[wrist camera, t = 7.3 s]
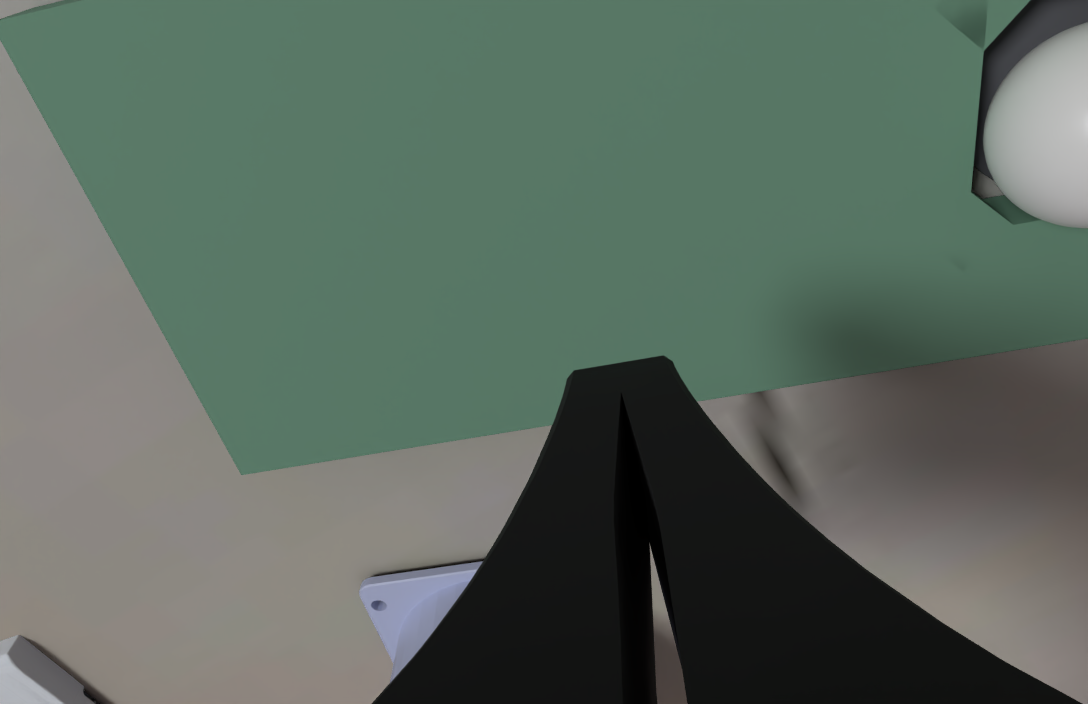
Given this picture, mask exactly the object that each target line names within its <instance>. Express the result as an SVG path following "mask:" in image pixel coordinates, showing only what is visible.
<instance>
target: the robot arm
mask: <svg viewBox="0 0 1088 704" xmlns="http://www.w3.org/2000/svg"><path fill="white" fill-rule="evenodd" d="M649 542H650V545H649ZM650 546H651V550H652V554H653V558H654V561H655V565H656V569H657V573H658V577H659V581H660V585H661V589H662V593H663V596H664V600H665V604H666V608H667V612H668V616H669V620H670V624H671V627H672V631H673V635H674V639H675V643H676V647H677V651H678V655H679V658H680V662H681V666H682V670H683V677H684V683H685V690H686V696H687V702H688V704H1082V703H1080V702H1078V701H1076V700H1075V699H1073V698H1071V697H1069V696H1067V695H1065V694H1064V693H1062V692H1060V691H1058V690H1056V689H1054V688H1052V687H1051V686H1049V685H1047V684H1045V683H1043V682H1041V681H1040V680H1038V679H1036V678H1034V677H1032V676H1030V675H1028V674H1027V673H1025V672H1023V671H1021V670H1019V669H1017V668H1016V667H1014V666H1012V665H1010V664H1008V663H1006V662H1005V661H1003V660H1001V659H1000V658H998V657H996V656H995V655H993V654H992V653H990V652H988V651H987V650H985V649H984V648H982V647H980V646H979V645H977V644H976V643H974V642H972V641H971V640H969V639H968V638H966V637H964V636H963V635H961V634H960V633H958V632H956V631H955V630H953V629H951V628H950V627H948V626H947V625H945V624H943V623H942V622H941V621H939V620H938V619H936V618H935V617H933V616H932V615H930V614H929V613H928V612H926V611H925V610H923V609H922V608H920V607H919V606H918V605H916V604H915V603H913V602H912V601H910V600H909V599H908V598H906V597H905V596H903V595H902V594H900V593H899V592H898V591H896V590H895V589H893V588H892V587H890V586H889V585H888V584H886V583H885V582H883V581H882V580H880V579H879V578H878V577H876V576H875V575H873V574H872V573H870V572H869V571H868V570H866V569H865V568H864V567H862V566H861V565H860V564H859V563H857V562H856V561H855V560H854V559H852V558H851V557H850V556H849V555H847V554H846V553H845V552H844V551H842V550H841V549H840V548H839V547H837V546H836V545H835V544H833V543H832V542H831V541H830V540H829V539H827V538H826V537H825V536H824V535H823V534H822V533H820V532H819V531H818V530H817V529H816V528H815V527H813V526H812V525H811V524H810V523H809V522H808V521H806V520H805V519H804V518H803V517H802V516H801V515H800V514H799V513H797V512H796V511H795V510H794V509H793V508H792V507H791V506H790V505H789V504H788V503H787V502H786V501H785V500H784V499H782V498H781V497H780V496H779V495H778V494H777V493H776V492H775V491H774V490H773V489H772V488H771V487H770V486H769V485H768V484H767V483H766V482H765V481H764V480H763V479H762V478H761V477H760V476H759V475H758V474H757V473H756V471H755V470H754V469H753V468H752V467H751V466H750V465H749V464H748V463H747V462H746V461H745V460H744V459H743V458H742V456H741V455H740V454H739V453H738V452H737V451H736V450H735V449H734V447H733V446H732V445H731V444H730V443H729V441H728V440H727V439H726V438H725V437H724V436H723V434H722V433H721V432H720V431H719V430H718V428H717V427H716V426H715V425H714V424H713V422H712V421H711V420H710V419H709V417H708V416H707V415H706V413H705V412H704V411H703V409H702V408H701V407H700V405H699V404H698V403H697V401H696V400H695V398H694V397H693V396H692V394H691V393H690V391H689V390H688V388H687V387H686V385H685V383H684V382H683V380H682V379H681V377H680V375H679V373H678V371H677V370H676V368H675V365H674V363H673V361H671V360H670V359H668V358H667V357H665V356H664V355H662V356H656V357H650V358H644V359H638V360H632V361H627V362H621V363H615V364H609V365H603V366H597V367H591V368H585V369H579V370H574V371H573V372H572V373H571V374H570V376H569V377H568V378H567V381H566V385H565V389H564V392H563V396H562V399H561V402H560V405H559V408H558V411H557V414H556V417H555V419H554V422H553V425H552V427H551V430H550V433H549V435H548V438H547V440H546V442H545V444H544V447H543V449H542V451H541V453H540V456H539V458H538V460H537V463H536V465H535V467H534V469H533V472H532V474H531V476H530V478H529V480H528V482H527V484H526V486H525V488H524V490H523V492H522V494H521V496H520V497H519V499H518V501H517V503H516V505H515V507H514V509H513V511H512V513H511V515H510V516H509V518H508V520H507V522H506V524H505V526H504V528H503V529H502V531H501V533H500V534H499V536H498V538H497V539H496V541H495V543H494V545H493V546H492V548H491V549H490V551H489V553H488V554H487V556H486V558H485V559H484V561H481V562H474V563H467V564H460V565H453V566H446V567H439V568H432V569H425V570H418V571H411V572H404V573H397V574H390V575H383V576H376V577H370V578H367V579H365V580H364V581H363V582H362V584H361V587H360V591H359V595H360V598H361V600H362V602H363V604H364V606H365V608H366V610H367V612H368V614H369V616H370V618H371V620H372V622H373V624H374V626H375V628H376V630H377V632H378V634H379V636H380V638H381V640H382V642H383V644H384V646H385V648H386V650H387V652H388V654H389V656H390V658H391V660H392V662H393V670H392V675H391V680H390V684H389V685H388V686H387V687H386V688H385V689H384V690H383V692H382V693H381V694H380V695H379V696H378V697H377V698H376V700H375V701H374V702H373V703H372V704H657V696H656V676H655V654H654V632H653V609H652V587H651V565H650ZM378 600H379V601H378Z"/></svg>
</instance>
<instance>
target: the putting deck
mask: <svg viewBox="0 0 1088 704" xmlns="http://www.w3.org/2000/svg"><path fill="white" fill-rule="evenodd" d="M1086 22H1088V0H64V1H60V2H56V3H52V4H47V5H43V6H39V7H35V8H31V9H28V10H25V11H23V12H20V13H17V14H14V15H11V16H8V17H5V18H2V19H0V40H1V42H2V44H3V46H4V47H5V49H6V51H7V53H8V55H9V56H10V58H11V60H12V62H13V64H14V65H15V67H16V69H17V71H18V73H19V74H20V76H21V78H22V80H23V82H24V83H25V85H26V87H27V89H28V91H29V93H30V94H31V96H32V98H33V100H34V102H35V103H36V105H37V107H38V109H39V111H40V112H41V114H42V116H43V118H44V120H45V121H46V123H47V125H48V127H49V129H50V130H51V132H52V134H53V136H54V138H55V139H56V141H57V143H58V145H59V147H60V148H61V150H62V152H63V154H64V156H65V158H66V159H67V161H68V163H69V165H70V167H71V168H72V170H73V172H74V174H75V176H76V177H77V179H78V181H79V183H80V185H81V186H82V188H83V190H84V192H85V194H86V195H87V197H88V199H89V201H90V203H91V204H92V206H93V208H94V210H95V212H96V213H97V215H98V217H99V219H100V221H101V223H102V224H103V226H104V228H105V230H106V232H107V233H108V235H109V237H110V239H111V241H112V242H113V244H114V246H115V248H116V250H117V251H118V253H119V255H120V257H121V259H122V260H123V262H124V264H125V266H126V268H127V269H128V271H129V273H130V275H131V277H132V278H133V280H134V282H135V284H136V286H137V288H138V289H139V291H140V293H141V295H142V297H143V298H144V300H145V302H146V304H147V306H148V307H149V309H150V311H151V313H152V315H153V316H154V318H155V320H156V322H157V324H158V325H159V327H160V329H161V331H162V333H163V334H164V336H165V338H166V340H167V342H168V343H169V345H170V347H171V349H172V351H173V353H174V354H175V356H176V358H177V360H178V362H179V363H180V365H181V367H182V369H183V371H184V372H185V374H186V376H187V378H188V380H189V381H190V383H191V385H192V387H193V389H194V390H195V392H196V394H197V396H198V398H199V399H200V401H201V403H202V405H203V407H204V408H205V410H206V412H207V414H208V416H209V418H210V419H211V421H212V423H213V425H214V427H215V428H216V430H217V432H218V434H219V436H220V437H221V439H222V441H223V443H224V445H225V446H226V448H227V450H228V452H229V454H230V455H231V457H232V459H233V461H234V463H235V464H236V466H237V468H238V470H239V472H240V473H241V475H245V474H251V473H257V472H263V471H270V470H276V469H282V468H288V467H294V466H301V465H307V464H313V463H319V462H325V461H332V460H338V459H344V458H350V457H356V456H363V455H369V454H375V453H381V452H387V451H394V450H400V449H406V448H412V447H418V446H425V445H431V444H437V443H443V442H449V441H456V440H462V439H468V438H474V437H480V436H487V435H493V434H499V433H505V432H511V431H517V430H524V429H530V428H536V427H542V426H548V425H553V422H554V419H555V417H556V414H557V411H558V408H559V405H560V402H561V399H562V396H563V392H564V389H565V385H566V381H567V378H568V377H569V376H570V374H571V373H572V372H573V371H574V370H579V369H585V368H591V367H597V366H603V365H609V364H615V363H621V362H627V361H632V360H638V359H644V358H650V357H656V356H662V355H664V356H665V357H667V358H668V359H670V360H671V361H673V363H674V365H675V368H676V370H677V371H678V373H679V375H680V377H681V379H682V380H683V382H684V383H685V385H686V387H687V388H688V390H689V391H690V393H691V394H692V396H693V397H694V398H695V400H696V401H703V400H710V399H716V398H722V397H728V396H734V395H741V394H747V393H753V392H759V391H765V390H772V389H778V388H784V387H790V386H796V385H803V384H809V383H815V382H821V381H827V380H834V379H840V378H846V377H852V376H858V375H865V374H871V373H877V372H883V371H889V370H896V369H902V368H908V367H914V366H920V365H927V364H933V363H939V362H945V361H951V360H958V359H964V358H970V357H976V356H982V355H989V354H995V353H1001V352H1007V351H1013V350H1020V349H1026V348H1032V347H1038V346H1044V345H1051V344H1057V343H1063V342H1069V341H1075V340H1082V339H1088V228H1075V227H1066V226H1060V225H1056V224H1053V223H1049V222H1046V221H1043V220H1041V219H1038V218H1036V217H1034V216H1032V215H1030V214H1028V213H1026V212H1025V211H1023V210H1021V209H1020V208H1019V207H1017V206H1016V205H1015V204H1013V203H1012V202H1011V201H1010V200H1009V199H1008V198H1007V197H1006V196H1005V195H1002V196H996V197H991V198H986V199H982V198H981V197H979V196H978V195H977V194H975V193H974V192H973V191H972V190H971V187H972V176H973V165H974V166H975V167H976V168H977V169H978V170H979V171H981V172H982V173H983V174H985V175H986V176H988V177H989V178H991V179H992V180H994V179H993V177H992V175H991V173H990V171H989V169H988V166H987V163H986V158H985V153H984V146H983V135H984V123H985V120H986V116H987V112H988V109H989V106H990V103H991V101H992V99H993V97H994V95H995V93H996V91H997V89H998V87H999V86H1000V84H1001V83H1002V81H1003V80H1004V78H1005V77H1006V76H1007V74H1008V73H1009V71H1010V70H1011V69H1012V68H1013V67H1014V66H1015V65H1016V64H1017V63H1018V62H1019V61H1020V60H1021V59H1022V58H1023V57H1024V56H1025V55H1026V54H1028V53H1029V52H1030V51H1032V50H1033V49H1034V48H1035V47H1037V46H1038V45H1039V44H1041V43H1042V42H1044V41H1046V40H1047V39H1049V38H1051V37H1053V36H1055V35H1056V34H1058V33H1060V32H1062V31H1064V30H1067V29H1069V28H1072V27H1075V26H1077V25H1080V24H1083V23H1086Z"/></svg>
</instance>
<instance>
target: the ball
mask: <svg viewBox="0 0 1088 704" xmlns="http://www.w3.org/2000/svg"><path fill="white" fill-rule="evenodd" d="M983 146H984V153H985V158H986V163H987V166H988V169H989V171H990V173H991V175H992V177H993V179H994V181H995V183H996V184H997V186H998V187H999V189H1000V190H1001V191H1002V193H1003V194H1004V195H1005V196H1006V197H1007V198H1008V199H1009V200H1010V201H1011V202H1012V203H1013V204H1015V205H1016V206H1017V207H1019V208H1020V209H1021V210H1023V211H1025V212H1026V213H1028V214H1030V215H1032V216H1034V217H1036V218H1038V219H1041V220H1043V221H1046V222H1049V223H1053V224H1056V225H1060V226H1066V227H1075V228H1088V22H1086V23H1083V24H1080V25H1077V26H1075V27H1072V28H1069V29H1067V30H1064V31H1062V32H1060V33H1058V34H1056V35H1055V36H1053V37H1051V38H1049V39H1047V40H1046V41H1044V42H1042V43H1041V44H1039V45H1038V46H1037V47H1035V48H1034V49H1033V50H1032V51H1030V52H1029V53H1028V54H1026V55H1025V56H1024V57H1023V58H1022V59H1021V60H1020V61H1019V62H1018V63H1017V64H1016V65H1015V66H1014V67H1013V68H1012V69H1011V70H1010V71H1009V73H1008V74H1007V76H1006V77H1005V78H1004V80H1003V81H1002V83H1001V84H1000V86H999V87H998V89H997V91H996V93H995V95H994V97H993V99H992V101H991V103H990V106H989V109H988V112H987V116H986V120H985V123H984V135H983Z"/></svg>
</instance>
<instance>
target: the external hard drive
mask: <svg viewBox="0 0 1088 704" xmlns="http://www.w3.org/2000/svg"><path fill="white" fill-rule="evenodd" d="M0 704H100V703H99V702H97V701H96V699H94V698H92V697H91V696H89V695H88V694H87V693H86V692H85V691H84V686H83V685H82V684H81V683H79V682H78V681H77V680H76V679H74V678H73V677H72V676H71V675H69V674H68V673H67V672H66V671H64V670H63V669H62V668H61V667H59V666H58V665H57V664H56V663H54V662H53V661H52V660H51V659H49V658H48V657H47V656H46V655H44V654H43V653H42V652H41V651H39V650H38V649H37V648H36V647H34V646H33V645H32V644H31V643H29V642H28V641H27V640H26V639H24V638H23V637H22V636H21V635H16V636H13V637H10V638H7V639H4V640H1V641H0Z"/></svg>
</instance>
